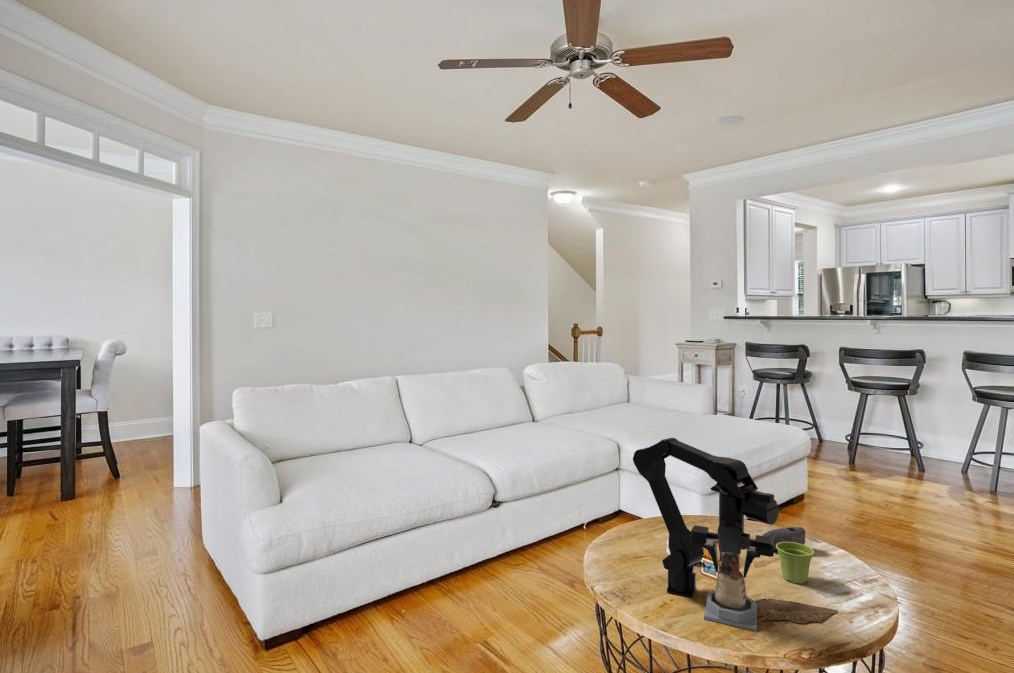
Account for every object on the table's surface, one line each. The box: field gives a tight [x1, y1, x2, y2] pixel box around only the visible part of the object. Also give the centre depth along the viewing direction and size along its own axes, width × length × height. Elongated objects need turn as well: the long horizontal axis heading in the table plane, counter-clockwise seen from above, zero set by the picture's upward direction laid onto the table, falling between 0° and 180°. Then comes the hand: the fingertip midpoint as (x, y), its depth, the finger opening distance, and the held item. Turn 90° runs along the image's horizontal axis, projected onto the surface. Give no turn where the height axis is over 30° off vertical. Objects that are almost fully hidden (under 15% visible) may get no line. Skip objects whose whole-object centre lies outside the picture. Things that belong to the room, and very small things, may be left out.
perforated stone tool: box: [761, 526, 806, 552], centre depth 167 cm, size 15×5×7 cm, turn 91°
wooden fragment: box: [754, 597, 838, 624], centre depth 131 cm, size 26×11×1 cm, turn 85°
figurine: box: [714, 552, 747, 608], centre depth 130 cm, size 7×7×12 cm
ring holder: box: [703, 590, 758, 632], centre depth 131 cm, size 12×12×3 cm
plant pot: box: [776, 542, 815, 585], centre depth 148 cm, size 9×9×9 cm
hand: (730, 574), depth 130 cm, fingers closed on figurine, 6 cm apart
